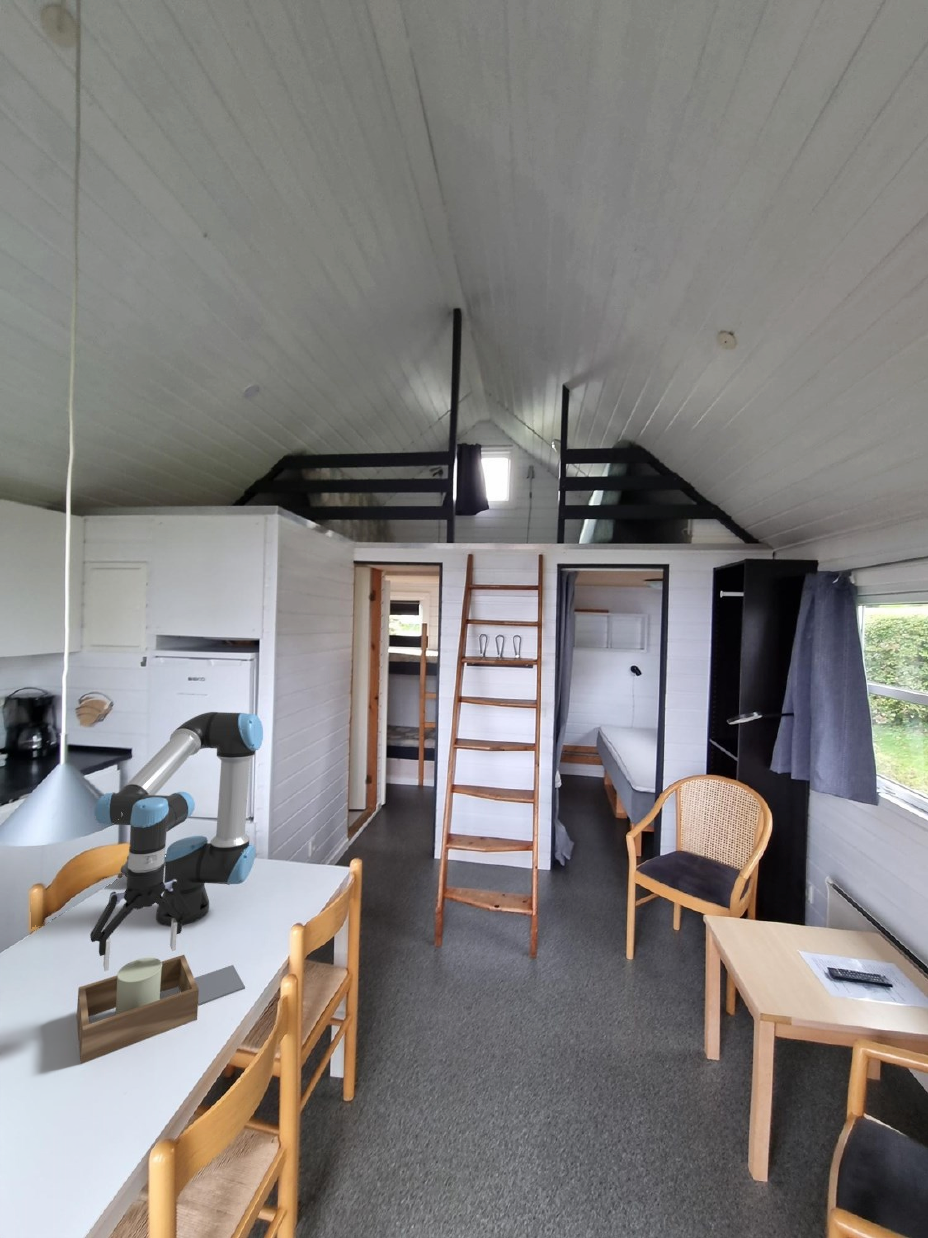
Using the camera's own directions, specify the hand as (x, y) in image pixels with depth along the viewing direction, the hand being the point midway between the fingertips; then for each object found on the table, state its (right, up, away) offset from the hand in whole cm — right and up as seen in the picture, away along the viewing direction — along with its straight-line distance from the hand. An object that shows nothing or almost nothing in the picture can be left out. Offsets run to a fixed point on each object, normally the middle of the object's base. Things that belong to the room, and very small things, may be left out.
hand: (140, 957), depth 125 cm
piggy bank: (-38, -15, +64) cm, 76 cm away
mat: (+12, -15, +13) cm, 23 cm away
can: (-1, -15, 0) cm, 15 cm away
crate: (-1, -14, 0) cm, 14 cm away
